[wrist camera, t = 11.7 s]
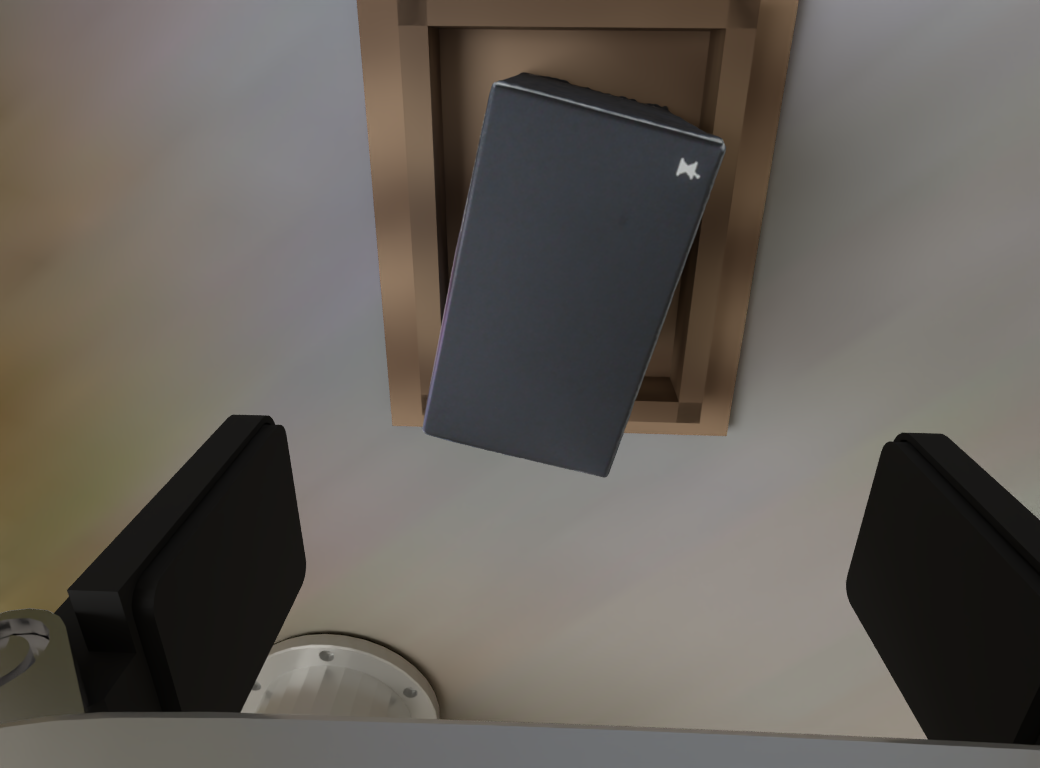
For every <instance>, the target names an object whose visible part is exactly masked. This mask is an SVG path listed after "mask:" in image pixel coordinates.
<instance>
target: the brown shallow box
mask: <svg viewBox="0 0 1040 768" xmlns="http://www.w3.org/2000/svg"><path fill="white" fill-rule="evenodd" d="M798 2H799V0H357V9H358V21H359V33H360V44H361V56H362V68H363V80H364V92H365V104H366V116H367V128H368V140H369V151H370V163H371V175H372V187H373V199H374V211H375V223H376V235H377V247H378V259H379V270H380V282H381V294H382V306H383V318H384V330H385V342H386V354H387V366H388V378H389V389H390V401H391V413H392V425H393V426H419V427H423V421H424V416H425V410H426V405H427V399H428V394H429V388H430V382H431V377H432V372H433V367H434V361H435V356H436V351H437V346H438V341H439V335H440V330H441V325H442V320H443V314H444V309H445V304H446V299H447V294H448V288H449V283H450V278H451V272H452V267H453V262H454V256H455V251H456V247H457V242H458V238H459V233H460V229H461V224H462V220H463V215H464V210H465V206H466V201H467V196H468V192H469V187H470V182H471V178H472V173H473V168H474V164H475V159H476V154H477V149H478V144H479V139H480V134H481V130H482V125H483V121H484V116H485V112H486V108H487V102H488V98H489V93H490V90H491V87H492V84H493V83H494V82H497V81H499V80H504V79H507V78H510V77H513V76H516V75H518V74H520V73H522V72H527V73H530V74H534V75H541V76H549V77H552V78H558V79H560V80H566V81H568V82H569V83H570V84H572V85H577V86H581V87H589V88H590V89H592V90H595V91H600V92H602V93H610V94H611V95H614V96H618V97H619V96H624V97H626V98H628V99H635V100H636V101H637V102H639V103H644V104H647V103H651V104H658V105H659V106H661V107H663V106H667V107H668V110H669V111H670V112H671V113H672V114H674V115H676V116H679V117H681V118H682V119H684V120H685V121H687V122H688V123H690V124H692V125H694V126H696V127H697V128H699V129H701V130H703V131H704V132H706V133H708V134H712V135H715V136H719V137H720V138H722V139H723V141H724V144H725V146H726V152H725V155H724V158H723V160H722V163H721V166H720V168H719V171H718V173H717V176H716V179H715V182H714V185H713V188H712V190H711V192H710V197H709V200H708V202H707V204H706V207H705V210H704V213H703V216H702V218H701V221H700V224H699V227H698V230H697V233H696V236H695V238H694V241H693V244H692V246H691V249H690V251H689V254H688V257H687V260H686V263H685V266H684V268H683V271H682V274H681V276H680V279H679V281H678V284H677V287H676V289H675V292H674V295H673V298H672V301H671V304H670V307H669V309H668V312H667V315H666V318H665V321H664V324H663V326H662V329H661V332H660V335H659V338H658V340H657V343H656V346H655V349H654V352H653V354H652V357H651V359H650V362H649V365H648V367H647V370H646V373H645V376H644V378H643V381H642V384H641V387H640V389H639V392H638V395H637V398H636V400H635V402H634V405H633V408H632V411H631V415H630V417H629V420H628V423H627V425H626V428H625V431H624V433H646V434H678V435H710V436H726V435H727V429H728V423H729V417H730V411H731V405H732V399H733V393H734V387H735V381H736V375H737V369H738V363H739V357H740V351H741V345H742V339H743V333H744V327H745V321H746V315H747V309H748V303H749V297H750V291H751V285H752V279H753V273H754V267H755V261H756V255H757V249H758V243H759V237H760V231H761V225H762V219H763V213H764V207H765V201H766V195H767V189H768V183H769V177H770V171H771V165H772V159H773V152H774V146H775V140H776V134H777V128H778V122H779V116H780V110H781V104H782V98H783V92H784V86H785V80H786V74H787V68H788V62H789V56H790V50H791V44H792V38H793V32H794V26H795V20H796V14H797V8H798Z"/></svg>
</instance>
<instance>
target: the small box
mask: <svg viewBox="0 0 1040 768" xmlns="http://www.w3.org/2000/svg"><path fill="white" fill-rule="evenodd" d="M725 152H726V146H725V144H724V141H723V139H722V138H720V137H719V136H715V135H712V134H708V133H706V132H704V131H703V130H701V129H699V128H697V127H696V126H694V125H692V124H690V123H688V122H687V121H685V120H684V119H682V118H681V117H679V116H676V115H674V114H672V113H671V112H670V111H669V110H668V107H667V106H663V107H661V106H659V105H658V104H651V103H647V104H644V103H639V102H637V101H636V100H635V99H628V98H626V97H624V96H619V97H618V96H614V95H611V94H610V93H602V92H600V91H595V90H592V89H590V88H589V87H581V86H577V85H572V84H570V83H569V82H568V81H566V80H560V79H558V78H552V77H549V76H541V75H534V74H530V73H527V72H522V73H520V74H518V75H516V76H513V77H510V78H507V79H504V80H499V81H497V82H494V83H493V84H492V87H491V90H490V93H489V98H488V102H487V108H486V112H485V116H484V121H483V125H482V130H481V134H480V139H479V144H478V149H477V154H476V159H475V164H474V168H473V173H472V178H471V182H470V187H469V192H468V196H467V201H466V206H465V210H464V215H463V220H462V224H461V229H460V233H459V238H458V242H457V247H456V251H455V256H454V262H453V267H452V272H451V278H450V283H449V288H448V294H447V299H446V304H445V309H444V314H443V320H442V325H441V330H440V335H439V341H438V346H437V351H436V356H435V361H434V367H433V372H432V377H431V382H430V388H429V394H428V399H427V405H426V410H425V416H424V421H423V428H422V430H423V432H424V433H425V434H427V435H431V436H434V437H437V438H441V439H444V440H448V441H452V442H456V443H460V444H464V445H469V446H472V447H476V448H481V449H485V450H489V451H494V452H497V453H502V454H505V455H509V456H514V457H518V458H524V459H528V460H531V461H535V462H540V463H544V464H548V465H552V466H557V467H561V468H565V469H569V470H574V471H578V472H583V473H587V474H591V475H596V476H600V477H607V476H608V474H609V472H610V469H611V466H612V463H613V461H614V458H615V455H616V453H617V450H618V447H619V444H620V441H621V439H622V436H623V433H624V431H625V428H626V425H627V423H628V420H629V417H630V415H631V411H632V408H633V405H634V402H635V400H636V398H637V395H638V392H639V389H640V387H641V384H642V381H643V378H644V376H645V373H646V370H647V367H648V365H649V362H650V359H651V357H652V354H653V352H654V349H655V346H656V343H657V340H658V338H659V335H660V332H661V329H662V326H663V324H664V321H665V318H666V315H667V312H668V309H669V307H670V304H671V301H672V298H673V295H674V292H675V289H676V287H677V284H678V281H679V279H680V276H681V274H682V271H683V268H684V266H685V263H686V260H687V257H688V254H689V251H690V249H691V246H692V244H693V241H694V238H695V236H696V233H697V230H698V227H699V224H700V221H701V218H702V216H703V213H704V210H705V207H706V204H707V202H708V200H709V197H710V192H711V190H712V188H713V185H714V182H715V179H716V176H717V173H718V171H719V168H720V166H721V163H722V160H723V158H724V155H725Z"/></svg>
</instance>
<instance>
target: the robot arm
mask: <svg viewBox="0 0 1040 768" xmlns="http://www.w3.org/2000/svg"><path fill="white" fill-rule="evenodd" d="M305 572H306V558H305V552H304V545H303V539H302V532H301V526H300V519H299V513H298V507H297V500H296V494H295V487H294V481H293V474H292V468H291V462H290V455H289V449H288V442H287V436H286V431H285V429H284V427H283V426H282V425H275V423H274V421H273V419H272V418H271V417H270V416H261V415H231V416H230V417H228V418H227V419H226V421H225V422H224V423H223V424H222V425H221V426H220V427H219V428H218V429H217V430H216V431H215V432H214V433H213V434H212V435H211V437H210V438H209V439H208V440H207V441H206V442H205V443H204V444H203V445H202V446H201V447H200V448H199V449H198V450H197V452H196V453H195V454H194V455H193V456H192V457H191V458H190V459H189V460H188V461H187V462H186V463H185V464H184V465H183V467H182V468H181V469H180V470H179V471H178V472H177V473H176V474H175V475H174V476H173V477H172V478H171V479H170V480H169V482H168V483H167V484H166V485H165V486H164V487H163V488H162V489H161V490H160V491H159V492H158V493H157V494H156V495H155V496H154V498H153V499H152V500H151V501H150V502H149V503H148V504H147V505H146V506H145V507H144V508H143V509H142V510H141V511H140V513H139V514H138V515H137V516H136V517H135V518H134V519H133V520H132V521H131V522H130V523H129V524H128V525H127V526H126V528H125V529H124V530H123V531H122V532H121V533H120V534H119V535H118V536H117V537H116V538H115V539H114V540H113V541H112V542H111V544H110V545H109V546H108V547H107V548H106V549H105V550H104V551H103V552H102V553H101V554H100V555H99V556H98V557H97V559H96V560H95V561H94V562H93V563H92V564H91V565H90V566H89V567H88V568H87V569H86V570H85V571H84V572H83V574H82V575H81V576H80V577H79V578H78V579H77V580H76V581H75V582H74V583H73V584H72V585H71V586H70V587H69V589H68V590H67V592H68V594H69V597H68V598H67V600H66V601H65V602H64V603H63V604H62V605H61V606H60V607H59V608H58V609H57V610H56V612H55V613H52V612H50V611H48V610H40V609H30V608H29V609H21V610H12V611H7V612H3V613H0V768H1040V520H1039V519H1038V518H1037V517H1036V516H1035V515H1033V514H1032V513H1031V512H1030V511H1029V510H1028V509H1027V508H1026V507H1025V506H1023V505H1022V504H1021V503H1020V502H1019V501H1018V500H1017V499H1016V498H1015V497H1014V496H1012V495H1011V494H1010V493H1009V492H1008V491H1007V490H1006V489H1005V488H1004V487H1002V486H1001V485H1000V484H999V483H998V482H997V481H996V480H995V479H994V478H992V477H991V476H990V475H989V474H988V473H987V472H986V471H985V470H984V469H983V468H981V467H980V466H979V465H978V464H977V463H976V462H975V461H974V460H973V459H971V458H970V457H969V456H968V455H967V454H966V453H965V452H964V451H963V450H961V449H960V448H959V447H958V446H957V445H956V444H955V443H954V442H953V441H952V440H950V439H949V438H948V437H947V436H945V435H943V434H931V433H901V434H899V435H898V436H897V437H896V438H895V439H894V442H887V443H886V444H885V445H884V447H883V449H882V451H881V455H880V458H879V462H878V466H877V469H876V473H875V477H874V480H873V484H872V488H871V491H870V495H869V499H868V502H867V506H866V510H865V513H864V517H863V521H862V524H861V528H860V532H859V535H858V539H857V542H856V546H855V550H854V553H853V557H852V561H851V564H850V568H849V572H848V575H847V580H846V590H847V596H848V599H849V602H850V604H851V606H852V608H853V609H854V611H855V613H856V615H857V616H858V618H859V620H860V621H861V623H862V625H863V627H864V628H865V630H866V632H867V634H868V635H869V637H870V639H871V641H872V642H873V644H874V646H875V648H876V649H877V651H878V653H879V655H880V656H881V658H882V660H883V662H884V663H885V665H886V667H887V669H888V670H889V672H890V674H891V676H892V677H893V679H894V681H895V683H896V684H897V686H898V688H899V690H900V691H901V693H902V695H903V697H904V698H905V700H906V702H907V704H908V705H909V707H910V709H911V710H912V712H913V714H914V716H915V717H916V719H917V721H918V723H919V724H920V726H921V728H922V730H923V731H924V733H925V735H926V737H927V738H928V740H926V739H904V738H882V737H861V736H839V735H817V734H796V733H774V732H752V731H728V730H703V729H679V728H655V727H631V726H605V725H580V724H554V723H529V722H504V721H474V720H445V719H440V713H439V704H438V701H437V698H436V695H435V692H434V690H433V689H432V687H431V686H430V684H429V682H428V681H427V679H426V678H425V677H424V676H423V675H422V674H421V673H420V672H419V671H418V670H417V668H416V667H414V666H413V665H412V664H411V663H409V662H408V661H407V660H405V659H404V658H403V657H401V656H400V655H398V654H396V653H394V652H392V651H391V650H389V649H387V648H385V647H383V646H380V645H378V644H375V643H372V642H369V641H367V640H364V639H359V638H354V637H350V636H345V635H332V634H317V635H304V636H300V637H295V638H291V639H287V640H285V641H282V642H280V643H277V644H275V645H273V644H274V642H275V640H276V638H277V636H278V634H279V632H280V630H281V628H282V626H283V624H284V621H285V619H286V617H287V615H288V613H289V611H290V609H291V607H292V605H293V603H294V601H295V599H296V597H297V594H298V592H299V590H300V588H301V586H302V584H303V581H304V577H305Z"/></svg>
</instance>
